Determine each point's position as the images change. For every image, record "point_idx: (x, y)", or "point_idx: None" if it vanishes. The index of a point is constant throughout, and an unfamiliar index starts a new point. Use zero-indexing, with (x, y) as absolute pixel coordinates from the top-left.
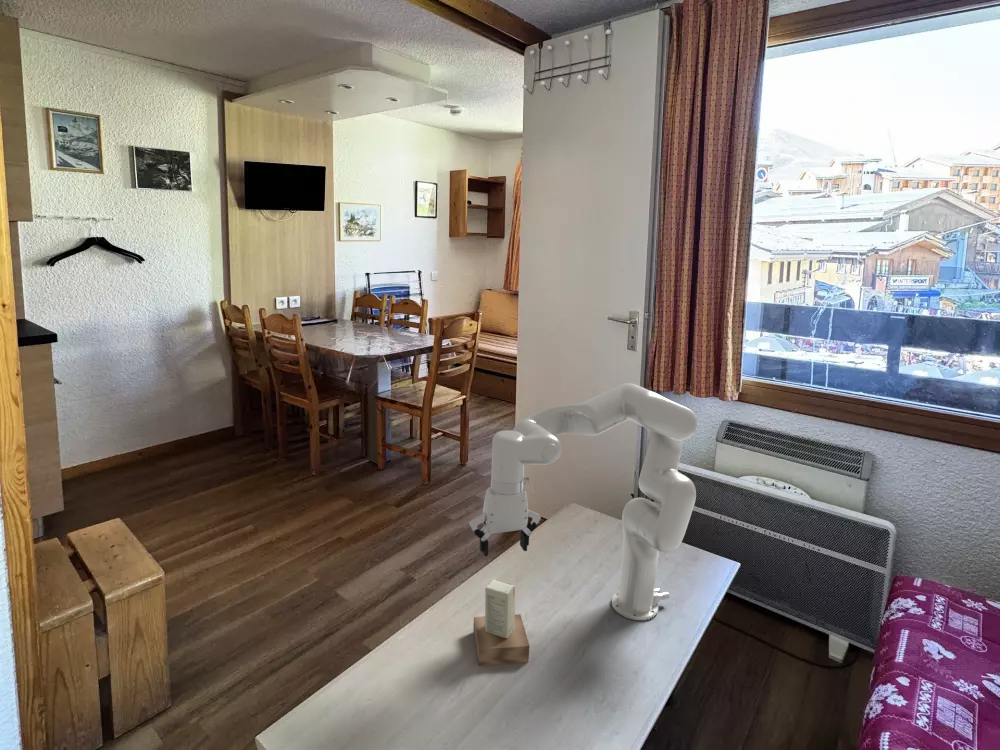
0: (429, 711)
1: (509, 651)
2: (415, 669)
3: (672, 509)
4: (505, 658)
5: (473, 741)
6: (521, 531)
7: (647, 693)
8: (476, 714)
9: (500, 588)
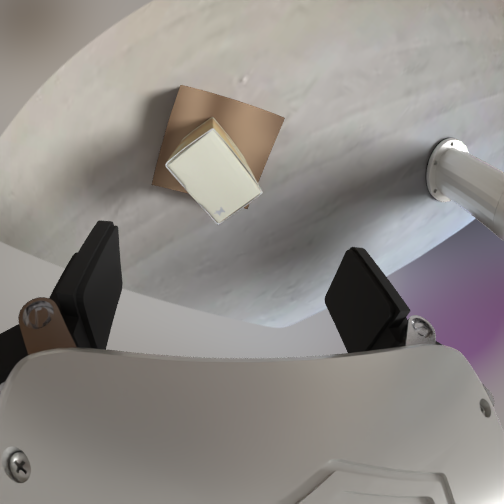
0: (72, 233)
1: None
2: (62, 152)
3: None
4: None
5: None
6: (389, 319)
7: None
8: (127, 257)
9: (209, 190)
